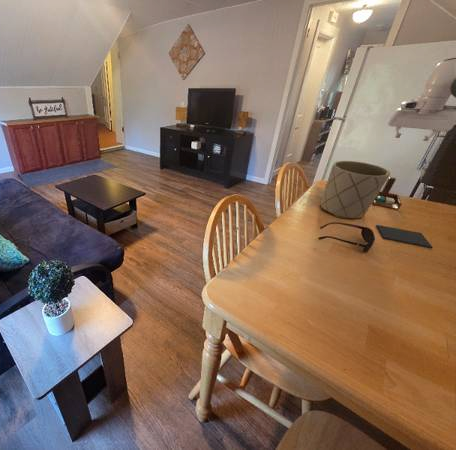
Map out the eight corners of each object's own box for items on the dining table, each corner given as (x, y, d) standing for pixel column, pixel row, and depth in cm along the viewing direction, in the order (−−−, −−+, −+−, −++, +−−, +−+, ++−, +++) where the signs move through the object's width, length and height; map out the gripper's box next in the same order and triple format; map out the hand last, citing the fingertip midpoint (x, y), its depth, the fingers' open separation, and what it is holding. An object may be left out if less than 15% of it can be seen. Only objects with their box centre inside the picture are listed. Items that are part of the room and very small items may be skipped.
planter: (308, 201, 118) (323, 161, 107) (346, 200, 119) (365, 160, 108) (334, 222, 102) (355, 176, 91) (378, 221, 102) (404, 176, 92)
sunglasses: (371, 257, 82) (378, 245, 80) (317, 242, 89) (322, 231, 87) (367, 238, 92) (373, 226, 89) (319, 226, 99) (323, 215, 96)
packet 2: (384, 199, 119) (385, 197, 118) (392, 201, 117) (393, 198, 116) (385, 202, 116) (386, 200, 115) (393, 204, 114) (394, 201, 114)
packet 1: (375, 197, 120) (376, 195, 120) (382, 199, 119) (384, 196, 118) (375, 200, 118) (377, 198, 117) (383, 202, 116) (385, 199, 115)
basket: (369, 193, 126) (379, 175, 121) (394, 198, 121) (405, 179, 116) (370, 204, 116) (381, 184, 111) (398, 209, 111) (410, 189, 106)
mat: (420, 234, 94) (421, 232, 94) (431, 248, 87) (432, 247, 86) (376, 225, 99) (376, 224, 99) (383, 238, 92) (383, 237, 91)
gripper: (463, 105, 98) (442, 141, 105) (397, 102, 108) (381, 134, 115) (467, 107, 93) (445, 144, 101) (398, 103, 104) (382, 137, 111)
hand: (410, 139), depth 108 cm, fingers open, 8 cm apart
